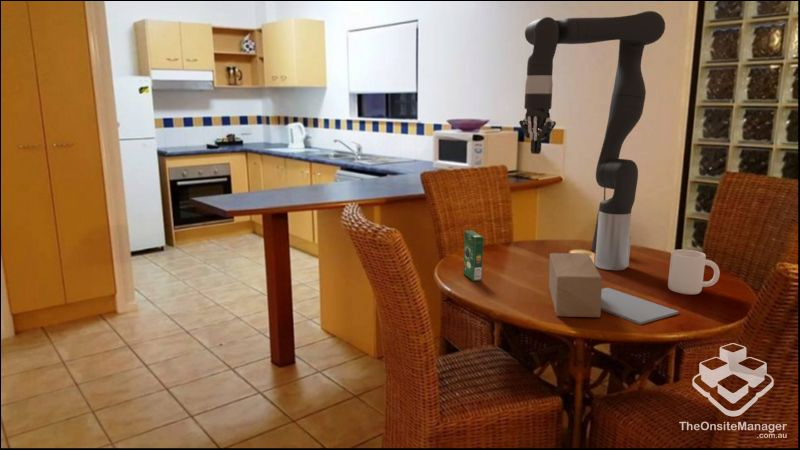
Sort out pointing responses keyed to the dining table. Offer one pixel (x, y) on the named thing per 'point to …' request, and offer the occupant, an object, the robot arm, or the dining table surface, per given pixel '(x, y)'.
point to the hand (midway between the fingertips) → (535, 153)
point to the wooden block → (575, 285)
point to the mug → (689, 271)
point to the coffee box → (473, 255)
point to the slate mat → (632, 307)
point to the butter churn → (596, 231)
